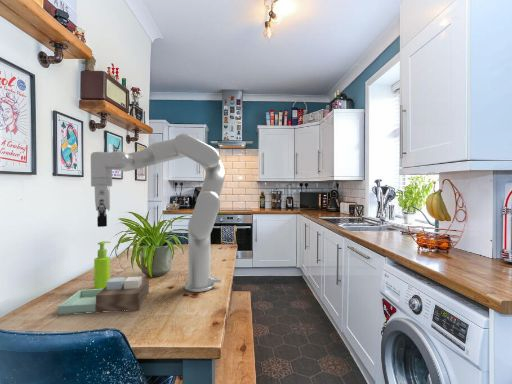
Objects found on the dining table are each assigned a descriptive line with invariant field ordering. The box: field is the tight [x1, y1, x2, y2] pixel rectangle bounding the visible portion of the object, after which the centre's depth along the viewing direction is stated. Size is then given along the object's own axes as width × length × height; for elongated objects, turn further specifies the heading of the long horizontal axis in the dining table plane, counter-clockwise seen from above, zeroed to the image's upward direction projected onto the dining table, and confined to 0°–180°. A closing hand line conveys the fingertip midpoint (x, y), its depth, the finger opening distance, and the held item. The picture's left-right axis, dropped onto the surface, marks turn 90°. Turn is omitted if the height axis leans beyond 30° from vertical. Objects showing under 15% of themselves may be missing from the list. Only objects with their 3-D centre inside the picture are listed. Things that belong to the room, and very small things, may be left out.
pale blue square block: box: [107, 276, 126, 290], centre depth 106 cm, size 5×5×3 cm
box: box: [57, 288, 103, 316], centre depth 105 cm, size 12×16×3 cm
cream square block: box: [124, 276, 143, 289], centre depth 107 cm, size 5×5×3 cm
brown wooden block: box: [96, 278, 150, 313], centre depth 107 cm, size 14×16×6 cm
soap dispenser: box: [93, 240, 111, 289], centre depth 122 cm, size 6×7×20 cm
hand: (102, 225), depth 115 cm, fingers open, 9 cm apart
